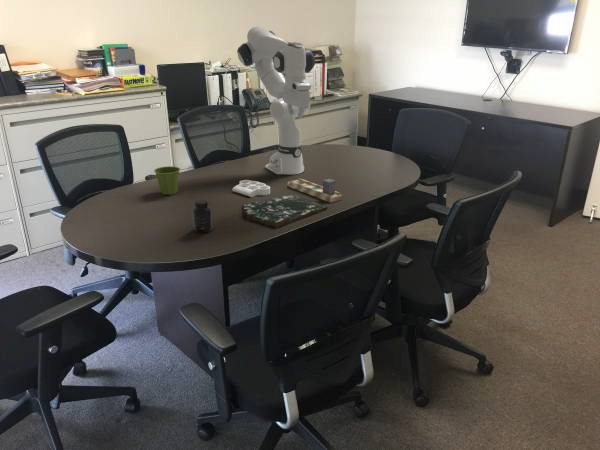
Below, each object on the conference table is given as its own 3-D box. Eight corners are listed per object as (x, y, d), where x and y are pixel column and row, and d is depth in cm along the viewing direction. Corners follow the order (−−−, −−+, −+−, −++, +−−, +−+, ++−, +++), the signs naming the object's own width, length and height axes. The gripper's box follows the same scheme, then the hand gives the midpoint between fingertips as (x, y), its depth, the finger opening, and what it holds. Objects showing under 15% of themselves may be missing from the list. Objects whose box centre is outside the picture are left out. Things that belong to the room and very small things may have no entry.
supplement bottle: (195, 226, 202) (193, 198, 197) (212, 226, 202) (210, 198, 198) (193, 234, 195) (191, 204, 191) (211, 233, 196) (209, 204, 191)
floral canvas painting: (327, 210, 221) (327, 203, 220) (271, 231, 200) (270, 224, 199) (286, 195, 238) (286, 189, 237) (230, 213, 217) (230, 206, 215)
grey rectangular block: (322, 192, 233) (322, 180, 230) (328, 190, 235) (329, 178, 233) (328, 195, 230) (329, 182, 228) (334, 193, 232) (335, 180, 230)
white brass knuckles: (227, 191, 242) (249, 184, 252) (254, 200, 231) (276, 192, 242) (227, 184, 241) (249, 177, 251) (254, 193, 230) (276, 185, 240)
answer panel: (287, 186, 249) (287, 180, 247) (298, 183, 253) (298, 177, 252) (330, 202, 228) (331, 196, 227) (341, 199, 232) (342, 193, 231)
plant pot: (187, 190, 241) (185, 168, 237) (171, 198, 231) (169, 174, 227) (167, 187, 246) (165, 164, 241) (151, 194, 236) (148, 171, 231)
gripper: (279, 80, 224) (279, 112, 230) (298, 86, 207) (298, 120, 212) (292, 80, 227) (292, 111, 232) (312, 85, 210) (312, 119, 215)
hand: (295, 115), depth 222 cm, fingers open, 8 cm apart
